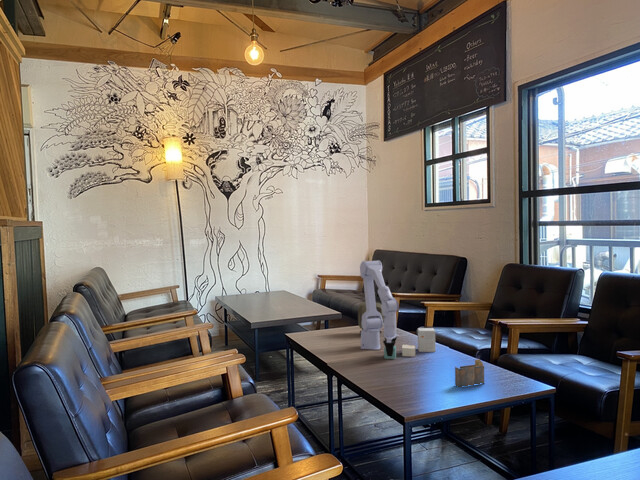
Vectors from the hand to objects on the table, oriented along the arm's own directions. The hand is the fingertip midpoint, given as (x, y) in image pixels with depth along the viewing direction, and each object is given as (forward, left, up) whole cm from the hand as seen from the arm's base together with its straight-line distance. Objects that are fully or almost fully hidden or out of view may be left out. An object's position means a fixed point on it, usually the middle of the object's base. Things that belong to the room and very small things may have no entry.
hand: (390, 354), depth 213 cm
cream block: (+8, +6, -2) cm, 11 cm away
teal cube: (0, 0, -1) cm, 1 cm away
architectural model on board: (+33, -31, -2) cm, 45 cm away
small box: (+17, +15, -2) cm, 22 cm away
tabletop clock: (-14, +42, -2) cm, 44 cm away
